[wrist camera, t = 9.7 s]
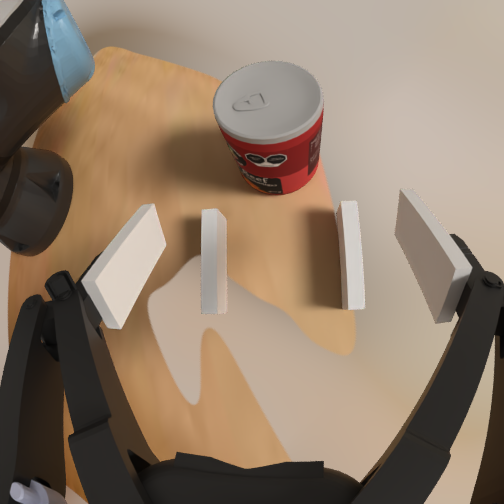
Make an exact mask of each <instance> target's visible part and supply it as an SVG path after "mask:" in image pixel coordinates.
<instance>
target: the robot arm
mask: <svg viewBox="0 0 504 504" xmlns="http://www.w3.org/2000/svg"><path fill="white" fill-rule="evenodd" d="M94 70H95V62H94V59H93V56H92V54H91V52H90V50H89V48H88V46H87V44H86V42H85V40H84V38H83V36H82V34H81V32H80V30H79V28H78V26H77V24H76V22H75V20H74V18H73V17H72V15H71V13H70V11H69V9H68V7H67V6H66V4H65V2H64V0H0V242H1V243H2V244H3V245H4V246H6V247H7V248H8V249H10V250H11V251H13V252H15V253H17V254H21V255H25V256H35V255H37V254H39V253H41V252H43V251H44V250H45V249H46V248H47V247H48V246H49V245H50V244H51V243H52V242H53V241H54V239H55V238H56V236H57V235H58V233H59V231H60V230H61V228H62V226H63V224H64V221H65V219H66V216H67V214H68V211H69V207H70V204H71V199H72V193H73V175H72V171H71V168H70V165H69V164H68V162H67V161H66V160H65V159H64V158H62V157H61V156H59V155H58V154H56V153H54V152H52V151H49V150H42V149H35V148H28V147H21V146H22V145H23V144H24V142H25V141H26V140H27V139H28V138H29V137H30V136H31V135H32V134H33V133H34V132H35V131H36V130H37V129H38V128H39V127H40V126H41V125H42V124H43V123H44V122H45V121H46V120H47V119H48V118H49V117H50V116H51V115H52V114H53V113H54V112H55V111H56V110H57V109H58V108H59V107H60V106H61V105H62V104H63V103H67V102H69V100H70V97H71V96H72V95H73V94H75V93H76V92H77V91H78V90H79V89H80V88H81V87H82V86H83V85H84V84H86V83H87V82H88V81H89V80H90V78H91V77H92V75H93V73H94ZM395 236H396V238H397V240H398V242H399V244H400V246H401V248H402V250H403V251H404V254H405V256H406V258H407V260H408V262H409V264H410V266H411V268H412V270H413V272H414V275H415V277H416V279H417V281H418V283H419V286H420V288H421V290H422V292H423V295H424V297H425V299H426V302H427V304H428V306H429V309H430V311H431V314H432V316H433V319H434V321H435V323H444V322H451V320H452V318H453V316H454V313H455V311H456V312H457V315H458V317H459V320H458V322H457V324H456V326H455V328H454V330H453V332H452V334H451V338H450V340H449V342H448V345H447V347H446V349H445V351H444V353H443V355H442V357H441V359H440V361H439V363H438V365H437V368H436V369H435V371H434V373H433V375H432V377H431V379H430V381H429V383H428V385H427V386H426V388H425V390H424V392H423V394H422V395H421V397H420V399H419V401H418V402H417V404H416V406H415V407H414V409H413V411H412V412H411V414H410V416H409V417H408V419H407V420H406V422H405V423H404V425H403V426H402V428H401V430H400V431H399V433H398V434H397V436H396V437H395V439H394V440H393V441H392V443H391V444H390V446H389V447H388V448H387V450H386V451H385V453H384V454H383V455H382V457H381V458H380V459H379V460H378V462H377V463H376V464H375V465H374V466H373V468H372V469H371V470H370V471H369V472H368V474H367V475H366V476H365V477H364V479H363V480H362V481H361V482H360V483H359V482H358V481H356V480H355V479H354V478H352V477H350V476H348V475H347V474H344V473H342V472H340V471H337V470H333V469H329V468H324V461H315V462H314V461H313V462H283V463H279V464H274V465H268V466H263V467H257V468H251V469H244V468H240V467H237V466H234V465H231V464H228V463H225V462H223V461H220V460H217V459H214V458H212V457H207V456H200V455H193V454H187V453H181V452H177V453H176V457H175V459H171V460H165V461H162V462H160V461H159V460H158V459H157V457H156V456H155V455H154V454H153V452H152V451H151V449H150V448H149V446H148V444H147V442H146V440H145V438H144V436H143V434H142V432H141V430H140V428H139V425H138V423H137V421H136V419H135V417H134V414H133V412H132V410H131V408H130V405H129V403H128V400H127V398H126V396H125V393H124V391H123V388H122V386H121V383H120V381H119V378H118V375H117V373H116V370H115V367H114V364H113V362H112V359H111V356H110V353H109V350H108V347H107V344H106V341H105V338H104V335H103V331H102V329H101V328H100V326H99V324H100V322H101V320H102V319H103V321H104V323H105V324H106V326H107V328H112V329H122V327H123V325H124V323H125V321H126V319H127V317H128V315H129V313H130V311H131V309H132V307H133V305H134V303H135V301H136V299H137V298H138V296H139V294H140V292H141V290H142V288H143V286H144V284H145V283H146V281H147V279H148V277H149V275H150V273H151V272H152V270H153V268H154V266H155V264H156V263H157V261H158V259H159V257H160V256H161V254H162V252H163V250H164V249H165V247H166V242H165V238H164V235H163V232H162V229H161V226H160V222H159V219H158V216H157V212H156V209H155V205H154V203H153V204H145V205H142V206H141V207H140V208H139V209H138V210H137V211H136V212H135V214H134V215H133V216H132V217H131V218H130V219H129V221H128V222H127V223H126V224H125V225H124V227H123V228H122V229H121V230H120V231H119V233H118V234H117V235H116V236H115V238H114V239H113V240H112V241H111V243H110V244H109V245H108V246H107V248H106V249H105V250H104V251H103V252H101V253H100V254H99V255H98V256H96V257H95V259H94V260H93V261H92V262H91V265H89V266H88V268H87V270H85V272H84V273H83V274H82V276H81V277H80V278H79V280H78V281H77V282H76V284H75V283H74V281H73V279H72V277H71V276H70V274H69V272H68V271H66V270H64V271H59V272H57V273H55V274H53V275H52V276H51V277H50V278H49V279H48V280H47V281H46V283H45V288H46V290H47V292H48V293H49V295H50V297H51V298H52V301H48V302H45V301H44V300H43V298H42V297H41V295H38V294H37V295H33V296H30V297H29V298H27V299H26V301H25V302H24V303H23V305H22V307H21V309H20V312H19V315H18V318H17V322H16V325H15V328H14V332H13V335H12V339H11V342H10V346H9V350H8V354H7V358H6V362H5V366H4V371H3V376H2V380H1V386H0V504H67V502H66V500H65V493H66V474H65V459H64V438H63V401H64V390H65V395H66V399H67V404H68V408H69V413H70V417H71V421H72V424H73V428H74V433H73V434H71V435H69V437H68V442H69V447H70V451H71V454H72V457H73V461H74V464H75V467H76V470H77V473H78V476H79V479H80V482H81V484H82V487H83V490H84V492H85V495H86V498H87V500H88V503H89V504H424V502H425V501H426V499H427V498H428V496H429V495H430V493H431V492H432V490H433V488H434V487H435V485H436V484H437V482H438V480H439V479H440V477H441V475H442V473H443V472H444V470H445V468H446V467H447V464H448V462H449V460H450V457H451V454H450V448H451V446H452V444H453V442H454V440H455V438H456V436H457V434H458V432H459V430H460V428H461V426H462V424H463V422H464V419H465V417H466V415H467V413H468V410H469V408H470V405H471V403H472V400H473V398H474V396H475V393H476V390H477V388H478V385H479V382H480V380H481V377H482V374H483V371H484V368H485V365H486V362H487V358H488V355H489V352H490V348H491V345H492V342H493V338H494V335H495V367H494V383H493V394H492V404H491V412H490V419H489V425H488V432H487V437H486V442H485V447H484V452H483V456H482V461H481V465H480V469H479V473H478V476H477V480H476V484H475V487H474V491H473V494H472V498H471V502H470V504H504V283H503V281H502V280H501V279H500V278H499V277H498V276H497V275H496V274H494V273H492V272H488V271H484V269H483V268H482V266H481V265H480V264H479V262H478V261H477V259H476V258H475V256H474V255H473V254H472V252H471V251H470V249H468V246H467V245H466V244H465V242H464V241H463V240H462V239H460V238H459V237H458V236H456V235H455V234H449V233H448V232H447V231H446V229H445V228H444V227H443V225H442V224H441V223H440V222H439V220H438V219H437V218H436V216H435V215H434V214H433V213H432V211H431V210H430V209H429V208H428V206H427V205H426V204H425V203H424V201H423V200H422V199H421V198H420V197H419V195H418V194H417V193H416V192H415V191H414V190H413V189H400V194H399V204H398V213H397V221H396V228H395ZM41 340H42V341H43V343H42V342H41Z"/></svg>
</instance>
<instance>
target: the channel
mask: <svg viewBox="0 0 504 504" xmlns="http://www.w3.org/2000/svg"><path fill="white" fill-rule="evenodd" d="M336 215H337V226H338V238H339V251H340V267H341V287H342V309H344V310H355V309H365V292H364V274H363V260H362V259H363V258H362V246H361V236H360V235H361V234H360V224H359V216H358V207H357V201H341V202H340V205H339V208H338V211H337V213H336ZM222 313H227V219H226V218H225V217H224V216H223V215H222V213H221V212H220V211H219V210H218V209H205V210H202V227H201V314H222Z"/></svg>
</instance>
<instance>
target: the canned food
mask: <svg viewBox="0 0 504 504" xmlns="http://www.w3.org/2000/svg"><path fill="white" fill-rule="evenodd" d="M323 105H324V99H323V92H322V88H321V86H320V84H319V81H318V80H317V79H316V78H315V77H314V75H312V74H311V73H310V72H309V71H307V70H306V69H304V68H302V67H300V66H298V65H295V64H292V63H288V62H282V61H265V62H258V63H254V64H251V65H248V66H245V67H242V68H241V69H239V70H237V71H235V72H233V73H232V74H231V75H229V76H228V77H227V78H226V79H225V80H224V81H223V82H222V83H221V84H220V86H219V87H218V89H217V91H216V93H215V96H214V98H213V110H214V114H215V119H216V121H217V123H218V125H219V128H220V130H221V132H222V134H223V136H224V138H225V140H226V142H227V144H228V146H229V148H230V151H231V153H232V155H233V157H234V159H235V161H236V163H237V165H238V167H239V169H240V171H241V174H242V176H243V178H244V179H245V180H246V181H247V183H248V184H250V185H251V186H252V187H253V188H255V189H257V190H259V191H261V192H264V193H267V194H273V195H283V194H288V193H292V192H294V191H296V190H298V189H300V188H301V187H303V186H304V185H305V184H307V183H308V182H309V181H310V180H311V178H312V177H313V175H314V174H315V172H316V170H317V167H318V161H319V153H320V143H321V132H322V122H323Z"/></svg>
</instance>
